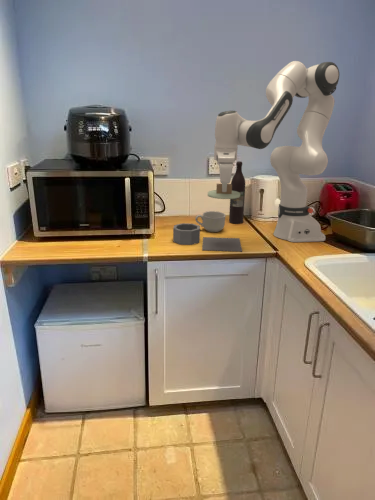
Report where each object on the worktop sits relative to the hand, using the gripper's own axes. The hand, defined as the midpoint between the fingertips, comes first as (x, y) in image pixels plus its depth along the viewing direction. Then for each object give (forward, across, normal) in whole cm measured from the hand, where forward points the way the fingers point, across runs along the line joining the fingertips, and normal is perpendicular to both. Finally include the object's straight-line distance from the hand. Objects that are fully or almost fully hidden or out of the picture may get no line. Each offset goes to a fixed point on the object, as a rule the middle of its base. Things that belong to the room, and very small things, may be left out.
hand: (224, 190), depth 151 cm
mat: (+23, 0, 0) cm, 23 cm away
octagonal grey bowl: (+23, -4, -15) cm, 28 cm away
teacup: (+23, -20, -5) cm, 31 cm away
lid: (+2, 0, 0) cm, 2 cm away
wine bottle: (+23, -35, +8) cm, 43 cm away
